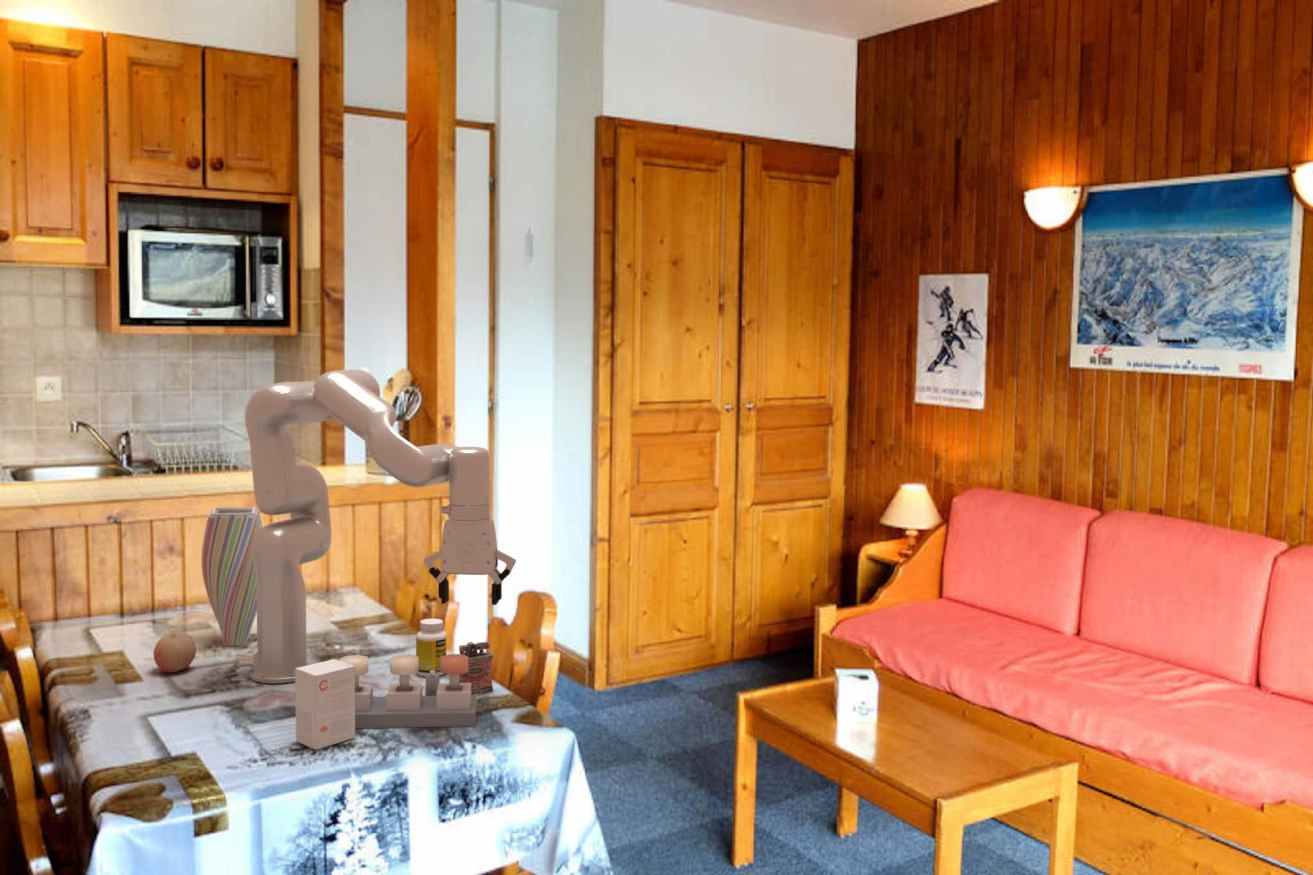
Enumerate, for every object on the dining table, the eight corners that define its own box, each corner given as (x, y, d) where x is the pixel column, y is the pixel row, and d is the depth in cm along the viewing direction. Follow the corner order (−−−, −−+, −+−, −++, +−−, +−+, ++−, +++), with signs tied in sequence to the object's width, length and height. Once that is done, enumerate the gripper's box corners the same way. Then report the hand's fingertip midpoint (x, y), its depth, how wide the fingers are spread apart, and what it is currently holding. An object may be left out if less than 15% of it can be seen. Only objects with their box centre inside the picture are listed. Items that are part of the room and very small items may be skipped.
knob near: (337, 692, 205) (337, 663, 204) (341, 683, 210) (341, 655, 209) (366, 692, 205) (366, 662, 205) (369, 683, 210) (369, 654, 210)
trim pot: (424, 705, 217) (425, 673, 216) (425, 700, 219) (426, 669, 219) (438, 704, 217) (439, 673, 217) (439, 700, 220) (439, 669, 219)
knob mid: (389, 691, 206) (389, 662, 205) (391, 683, 211) (392, 654, 210) (417, 691, 207) (417, 662, 206) (419, 682, 212) (419, 654, 211)
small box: (334, 729, 203) (334, 657, 201) (356, 738, 198) (356, 665, 197) (294, 741, 196) (294, 667, 195) (315, 750, 192) (315, 675, 191)
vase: (267, 633, 264) (266, 505, 262) (266, 648, 252) (265, 514, 249) (204, 636, 260) (203, 506, 257) (200, 652, 247) (199, 516, 244)
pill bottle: (439, 678, 233) (439, 625, 232) (411, 676, 234) (411, 623, 233) (450, 670, 239) (451, 618, 238) (423, 667, 240) (423, 616, 239)
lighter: (455, 697, 222) (456, 647, 221) (450, 692, 225) (451, 642, 224) (495, 692, 226) (495, 642, 225) (489, 687, 228) (490, 638, 228)
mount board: (327, 728, 203) (327, 698, 202) (335, 710, 213) (335, 681, 212) (475, 726, 206) (475, 696, 206) (476, 707, 216) (476, 679, 215)
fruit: (147, 670, 234) (146, 632, 233) (185, 662, 240) (185, 625, 239) (164, 679, 229) (163, 640, 228) (203, 671, 234) (202, 633, 234)
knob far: (439, 690, 207) (439, 661, 207) (441, 682, 212) (441, 654, 212) (467, 690, 208) (467, 661, 207) (468, 682, 213) (468, 653, 212)
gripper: (418, 515, 211) (419, 606, 212) (511, 516, 209) (511, 608, 211) (429, 509, 218) (430, 597, 219) (519, 510, 217) (519, 599, 218)
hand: (470, 602), depth 215 cm, fingers open, 9 cm apart
